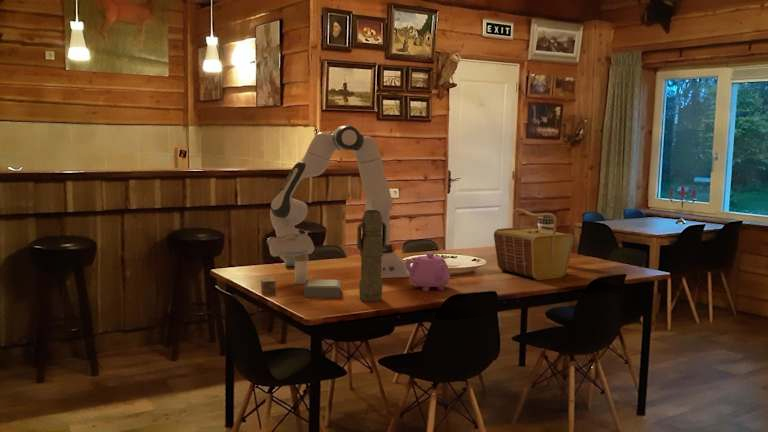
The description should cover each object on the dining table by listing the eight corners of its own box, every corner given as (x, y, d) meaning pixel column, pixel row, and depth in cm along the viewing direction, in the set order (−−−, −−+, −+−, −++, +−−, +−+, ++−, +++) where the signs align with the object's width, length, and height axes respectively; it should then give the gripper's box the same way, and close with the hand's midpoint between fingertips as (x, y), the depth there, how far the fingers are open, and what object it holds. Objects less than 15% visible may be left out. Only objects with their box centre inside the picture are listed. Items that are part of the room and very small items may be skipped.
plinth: (340, 289, 299) (340, 279, 298) (339, 297, 285) (339, 286, 285) (306, 289, 298) (306, 279, 298) (304, 297, 284) (304, 286, 284)
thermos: (351, 298, 283) (353, 210, 279) (376, 295, 290) (378, 208, 286) (363, 303, 276) (365, 212, 272) (389, 300, 282) (391, 211, 278)
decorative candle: (557, 263, 369) (559, 215, 366) (544, 265, 364) (546, 216, 361) (543, 260, 377) (545, 213, 374) (531, 262, 371) (533, 214, 368)
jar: (307, 281, 314) (307, 256, 312) (306, 284, 308) (306, 258, 307) (294, 281, 313) (295, 256, 312) (294, 284, 308) (294, 258, 307)
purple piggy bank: (417, 295, 291) (418, 259, 289) (397, 285, 309) (397, 251, 307) (460, 292, 299) (461, 256, 297) (437, 282, 317) (438, 248, 315)
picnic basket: (574, 277, 335) (577, 213, 331) (532, 282, 322) (535, 215, 318) (530, 266, 360) (533, 206, 356) (490, 271, 346) (492, 208, 343)
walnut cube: (273, 290, 296) (273, 278, 295) (275, 293, 291) (275, 281, 290) (261, 291, 294) (261, 279, 293) (263, 293, 289) (263, 281, 289)
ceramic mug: (303, 267, 345) (303, 251, 344) (285, 267, 344) (285, 251, 343) (301, 264, 355) (301, 248, 355) (284, 264, 354) (284, 248, 353)
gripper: (267, 233, 312) (277, 259, 305) (310, 230, 323) (320, 255, 316) (263, 242, 316) (272, 267, 309) (305, 239, 327) (315, 264, 320)
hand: (297, 261), depth 313 cm, fingers open, 8 cm apart
